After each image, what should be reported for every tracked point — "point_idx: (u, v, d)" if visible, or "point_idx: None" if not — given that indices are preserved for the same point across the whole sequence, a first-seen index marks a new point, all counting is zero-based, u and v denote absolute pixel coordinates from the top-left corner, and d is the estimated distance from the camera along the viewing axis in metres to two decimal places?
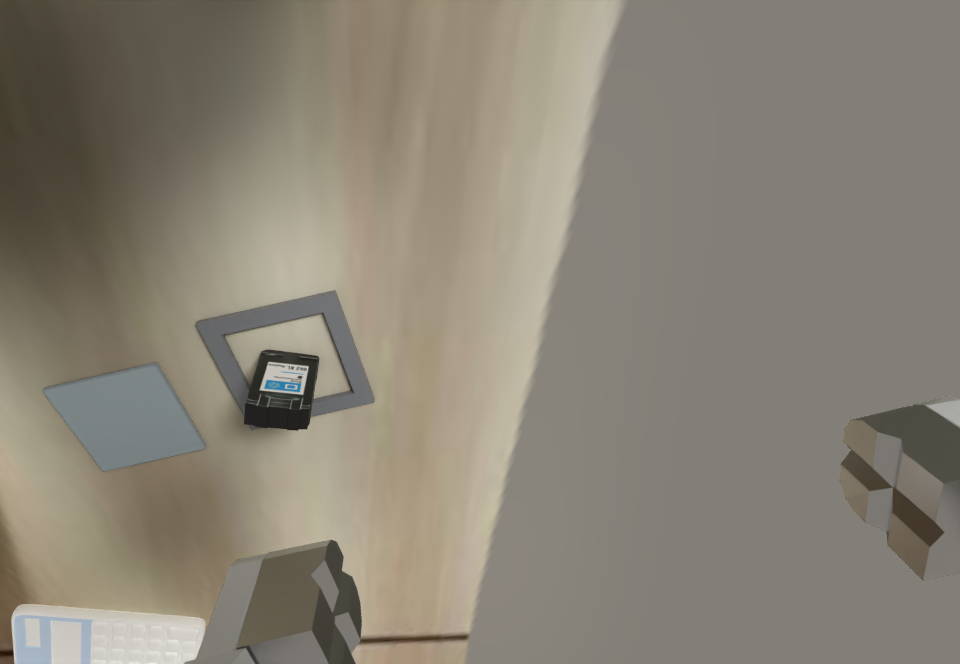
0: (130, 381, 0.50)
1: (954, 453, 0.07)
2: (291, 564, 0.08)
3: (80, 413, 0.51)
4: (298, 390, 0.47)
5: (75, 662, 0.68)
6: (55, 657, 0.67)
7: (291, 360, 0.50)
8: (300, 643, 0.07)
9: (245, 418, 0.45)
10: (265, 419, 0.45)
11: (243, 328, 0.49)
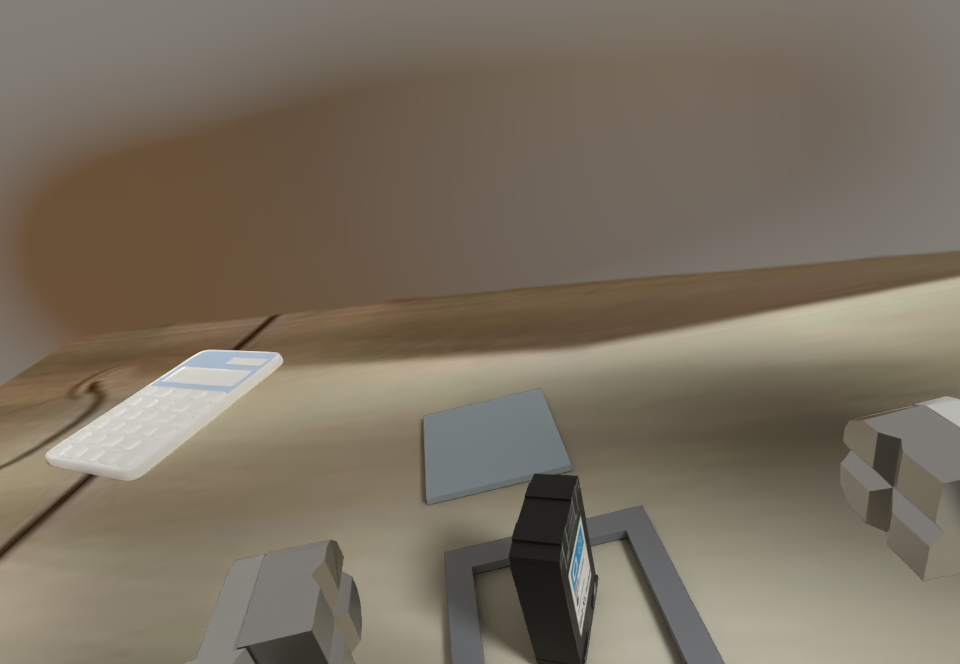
0: (548, 443, 0.41)
1: (954, 453, 0.07)
2: (291, 564, 0.08)
3: (507, 407, 0.46)
4: (571, 575, 0.25)
5: (183, 380, 0.62)
6: (203, 370, 0.64)
7: (587, 614, 0.27)
8: (300, 643, 0.07)
9: (545, 475, 0.27)
10: (543, 495, 0.26)
11: (642, 557, 0.30)
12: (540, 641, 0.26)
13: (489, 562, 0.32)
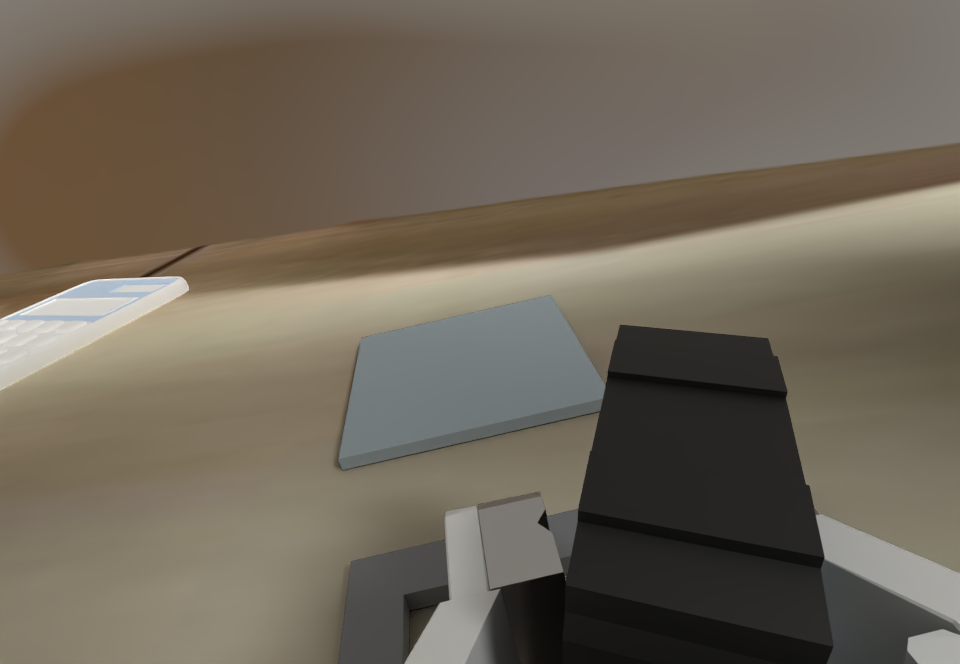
0: (567, 366, 0.23)
1: None
2: (510, 513, 0.08)
3: (497, 321, 0.28)
4: None
5: (47, 312, 0.45)
6: (79, 301, 0.46)
7: None
8: (548, 585, 0.07)
9: (658, 330, 0.09)
10: (673, 373, 0.07)
11: None
12: None
13: (444, 584, 0.14)
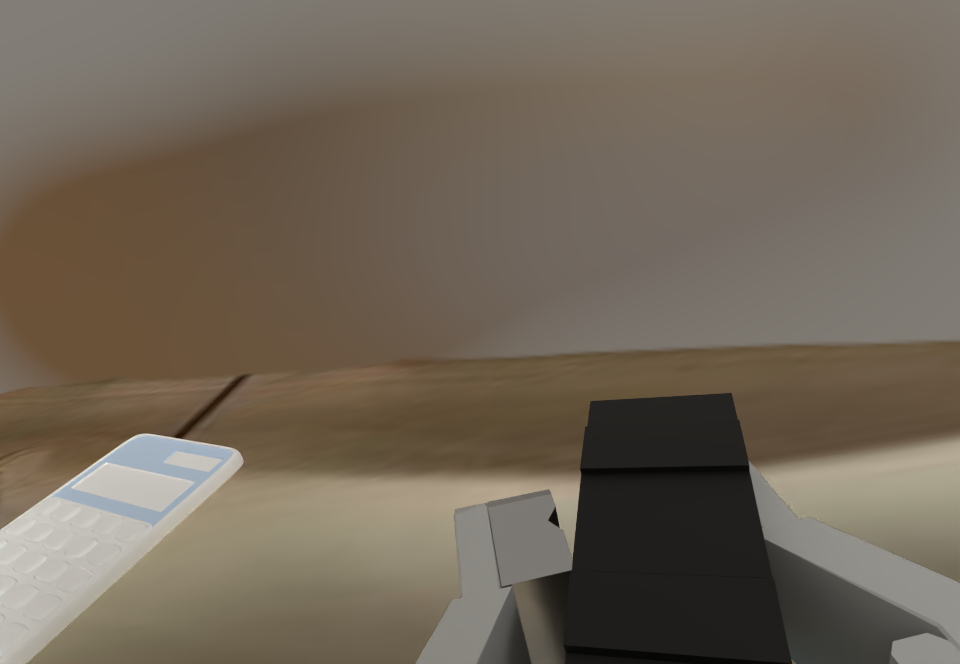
0: None
1: None
2: (520, 511, 0.08)
3: None
4: None
5: (99, 488, 0.44)
6: (130, 472, 0.45)
7: None
8: (559, 583, 0.07)
9: (627, 401, 0.09)
10: (641, 460, 0.08)
11: None
12: None
13: None
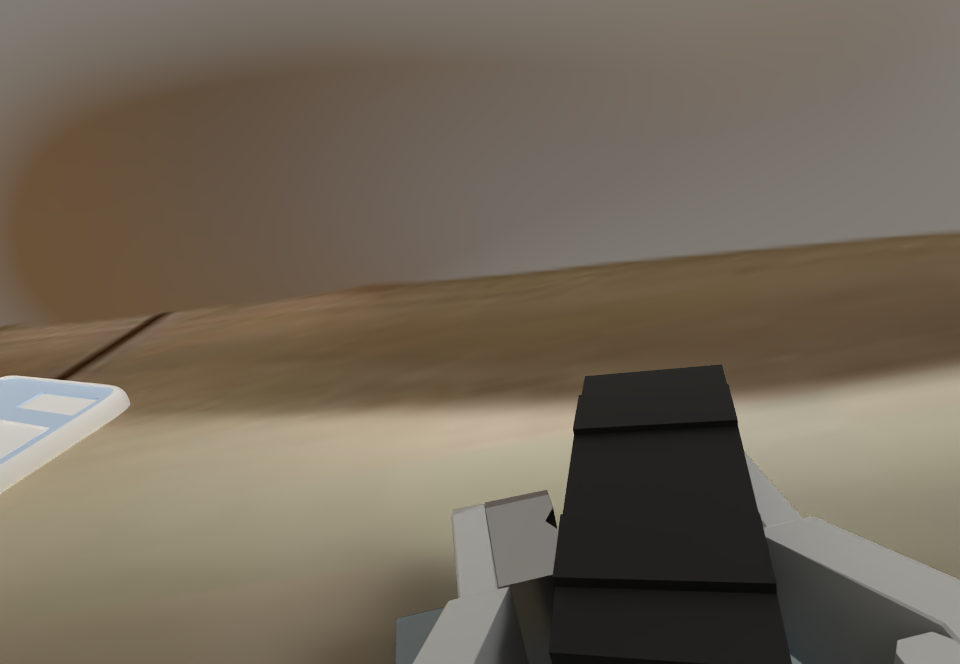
0: None
1: None
2: (518, 512, 0.08)
3: None
4: None
5: None
6: None
7: None
8: None
9: (620, 375, 0.09)
10: (632, 419, 0.08)
11: None
12: None
13: None
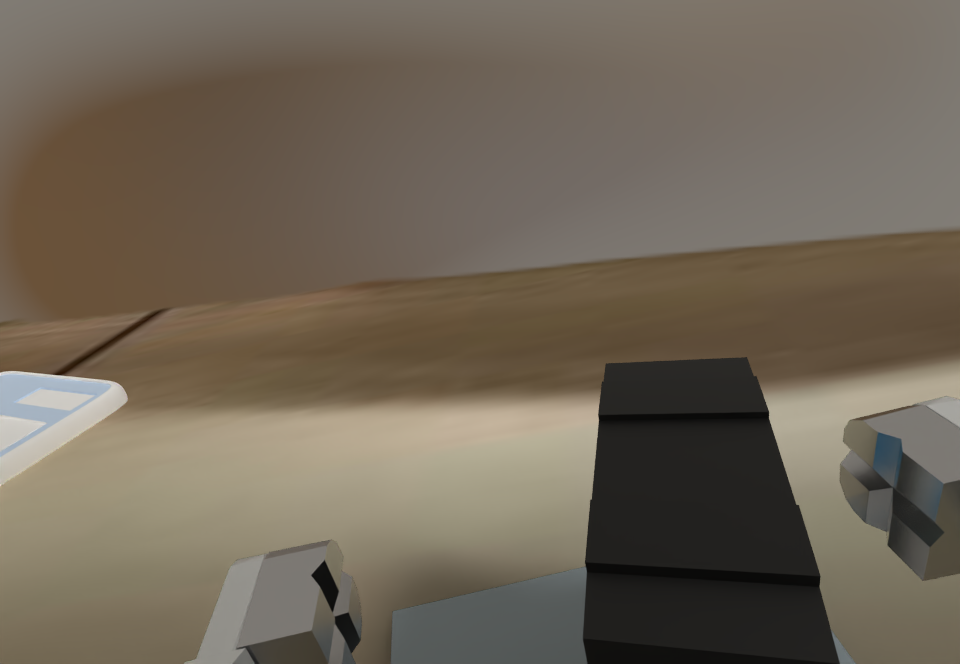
0: None
1: (954, 453, 0.07)
2: (291, 564, 0.08)
3: None
4: None
5: None
6: None
7: None
8: (300, 643, 0.07)
9: (642, 363, 0.09)
10: (660, 408, 0.08)
11: None
12: None
13: None
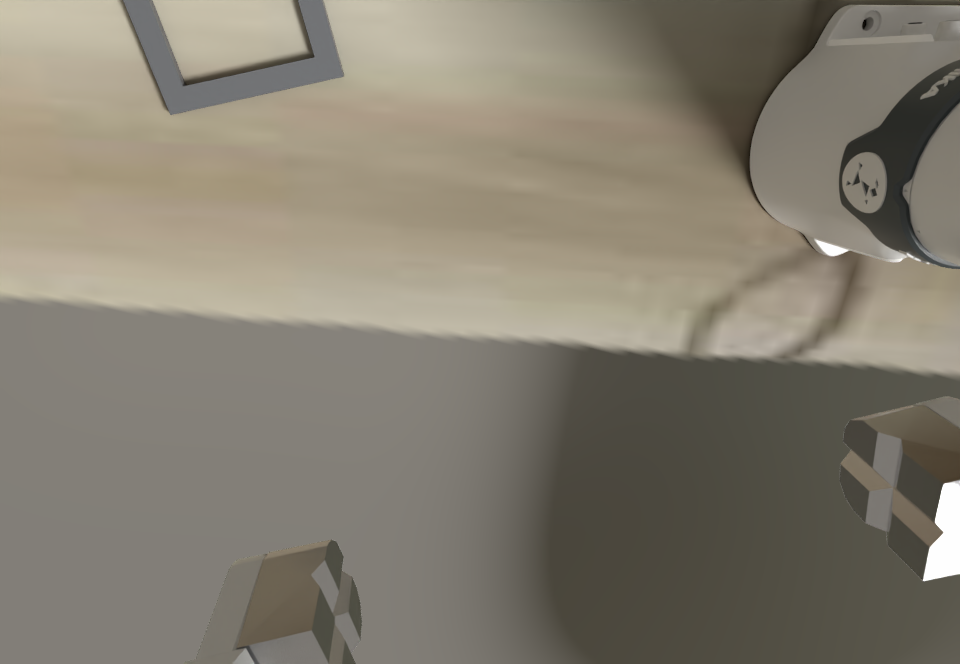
0: None
1: (954, 453, 0.07)
2: (291, 564, 0.08)
3: None
4: None
5: None
6: None
7: None
8: (300, 643, 0.07)
9: None
10: None
11: None
12: None
13: None
